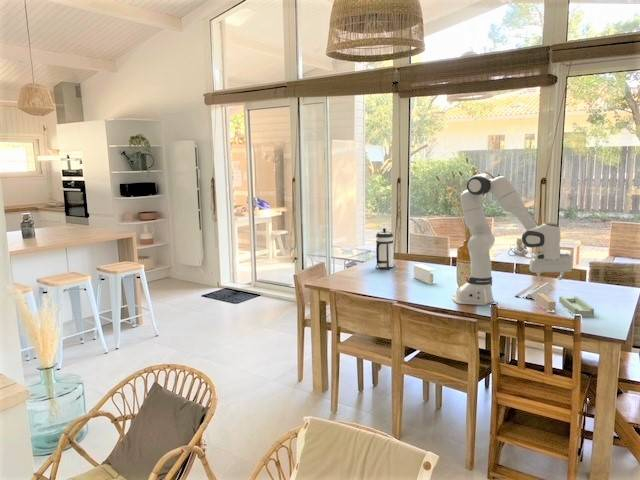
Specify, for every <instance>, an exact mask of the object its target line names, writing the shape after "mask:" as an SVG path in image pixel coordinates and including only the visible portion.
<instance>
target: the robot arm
mask: <svg viewBox="0 0 640 480" xmlns="http://www.w3.org/2000/svg"><path fill="white" fill-rule="evenodd" d="M488 193H490V194H492V195H493V197H494V199H495V200H496V202H497V204H498V206H500V207H501V209H502V210H503V211H505V212H507V213H510V214H512V215H514V216H516V218H517V219H518V221H519V222H520V223H521V224H522V227H523V228H524V229H525V230H526V231H524V233H522V236H521V243H523V245H524V246H525V247H527V248H531V249H532V248H538V247H540V248H541V250H538V251H535V252H532V253H531V257H532V258H530V261H529V265H528V266H529V271H530V272H531V273H534V274H536V275H537V277H538V281H539V282H543V279H544V277H543V276H541V274H542V273H560V274H559V275H558V276H557V280H558V281H562V280H563V276H564V275H565V272H566V273H567V272H568V273H569V272H571V271H572V269H573V267H572V266H573V265H572V264H573V263H572V260H573V257H572V255H571V254H569V253H561V246H560V245H561V238H562V237H561V228H560V226H559V225H558V224H556V223H553V222H544V223H542V224H538V223H537V221H536V220H535V219H534V216H532V214H531V213H530V212H529V210H528V208H527V207H526V206H525V204H524V202H523V200H522V198H521V196H520V194H519V193H518V190H517V189H516V187H515V186H514V185H513V184H512V183H511V181H510V180H509V179H508V178H507V177H506V176H503V175H501V176H497V177H494V176H493V175H492V174H490V173H488V172H487V173H486V172H484V173H477V174H476V175H475V174H474V175H472V176H471V177H469V179H467V182H466V189H465V190H464V191H462V192H461V194H460V195H459V196H460V206H461V211H462V215H463V218H464V222H465V225H466V227H467V228H468V230H469V232H470V235H471V237H470V238H469V239H468V242H467V246H466V247H467V250H468V253H469V260H470V275H467V274H466V275H465V277H464V278H465V279H466V282H465V283H464V284H462V285H460V286H459V287H458V288H457V291H456V294H455V295H453V296H452V301H453V302H454V303H455V304H459V305H460V304H462V305H474V306H475V305H479V306H485V305H488V304H491V303H493V302H494V300H495V299H494V296H493V289H492V285H493V276H492V261H491V256H490V255H491V254H490V249H492V248H493V247H494V245H495V241H496V240H495V235H494V234H493V232H492V230H491V227H490V226H489V223H488V220H487V218H486V214H485V210H484V207H483V203H482V196H484V195H485V194H488Z"/></svg>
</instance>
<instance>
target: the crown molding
mask: <svg viewBox="0 0 640 480" xmlns="http://www.w3.org/2000/svg"><path fill="white" fill-rule="evenodd" d="M537 286H539V284H538V283H537V282H535V283H533V284H532V285H530V286H528V287H527V288H525V289H522V291H519V292H518V293H516V294H515V295H514V297H515V296H518V297H520V296H521V295H523V294H525V293H526V292H527V291H529V290H531V289H533V288H535V287H537ZM553 287H554V286H553V285H552V284H551V283H550V282H549V281H547V282H545V283H544V284H542V285H540V287H539V288H537V289H536V290H534V291H532V292H531V293H529V294H528V295H527V296H525V297H527V298H526V299H530V298H532V300H533V299H534V298H536V297H537V293H544V292H546V291H548V290H550V289H551V288H553ZM553 289H554V288H553ZM550 291H551V290H550ZM518 297H517V298H518Z"/></svg>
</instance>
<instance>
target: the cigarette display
mask: <svg viewBox="0 0 640 480" xmlns="http://www.w3.org/2000/svg"><path fill="white" fill-rule="evenodd" d="M431 271H432V272H433V271H437V269H436V268H434V267H430V266H427V265H425V264H421V263H418V264H417V263H416V264H414V265H413V274H414V275H413V278H414V279H416V280H419V281H421V282H423V283H425V284H428V285H433V284H436V282H435V281H434V273H431Z"/></svg>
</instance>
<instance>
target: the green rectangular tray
mask: <svg viewBox="0 0 640 480" xmlns="http://www.w3.org/2000/svg"><path fill="white" fill-rule="evenodd" d="M558 299H559V300H558V303H561V304H562V305H563V306H564V307H565V308H567V309H568V310H569V311H571V312H572V313H573V314H581V315H582V317H583V316H587V317H588V318H589V317H594V314H595V309H594V307H592V306H591V305H589V304H588V303H587V302H586V301H584V300H582V299H581V298H580V297H578V295H575V296H573V297H565V296H561V295H559V297H558ZM561 304H560V305H561ZM562 305H561V306H562ZM563 306H562V307H563ZM564 307H563V308H564ZM565 308H564V309H565ZM568 310H567V311H568ZM569 311H568V312H569Z"/></svg>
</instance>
